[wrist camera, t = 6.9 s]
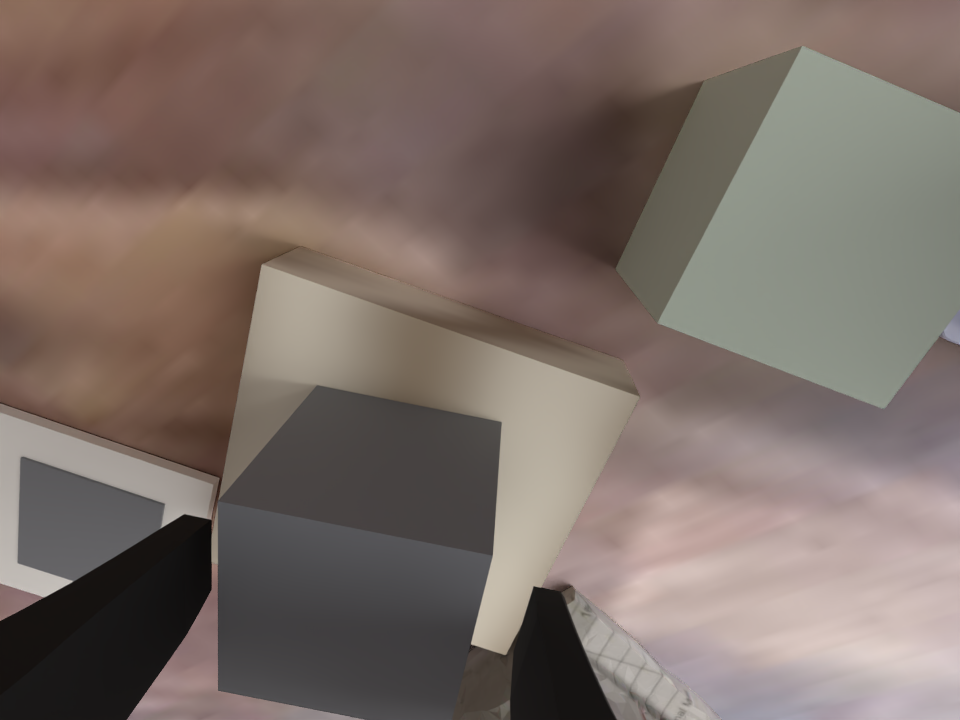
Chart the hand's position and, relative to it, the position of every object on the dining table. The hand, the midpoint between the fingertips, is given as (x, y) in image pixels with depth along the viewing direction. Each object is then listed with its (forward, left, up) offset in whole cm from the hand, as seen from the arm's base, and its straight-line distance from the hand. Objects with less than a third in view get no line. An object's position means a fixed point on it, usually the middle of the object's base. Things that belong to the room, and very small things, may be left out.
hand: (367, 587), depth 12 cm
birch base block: (0, 0, -7) cm, 7 cm away
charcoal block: (0, 0, -4) cm, 4 cm away
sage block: (-6, -10, -6) cm, 13 cm away
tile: (+10, +8, -6) cm, 14 cm away
